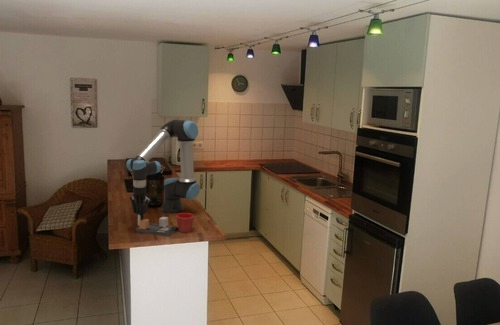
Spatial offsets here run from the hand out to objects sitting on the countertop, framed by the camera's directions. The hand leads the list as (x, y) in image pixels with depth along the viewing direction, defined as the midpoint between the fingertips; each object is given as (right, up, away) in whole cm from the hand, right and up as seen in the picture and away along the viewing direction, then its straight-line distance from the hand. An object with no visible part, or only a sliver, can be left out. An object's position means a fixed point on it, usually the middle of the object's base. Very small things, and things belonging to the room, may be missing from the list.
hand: (140, 224), depth 252 cm
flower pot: (+26, -4, +4) cm, 27 cm away
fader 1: (+3, -2, 0) cm, 3 cm away
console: (+10, -4, +2) cm, 11 cm away
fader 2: (+13, -1, +4) cm, 14 cm away
